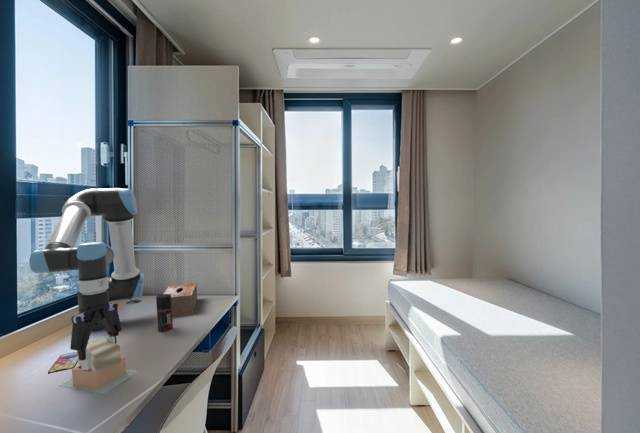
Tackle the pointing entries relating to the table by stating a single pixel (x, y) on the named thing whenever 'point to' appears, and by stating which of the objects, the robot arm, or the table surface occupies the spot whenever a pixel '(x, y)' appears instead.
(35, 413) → the table surface
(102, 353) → the beige block
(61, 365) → the smartphone
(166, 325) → the deodorant
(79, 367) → the peach open-top box
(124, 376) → the felt mat
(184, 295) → the tissue box cover
